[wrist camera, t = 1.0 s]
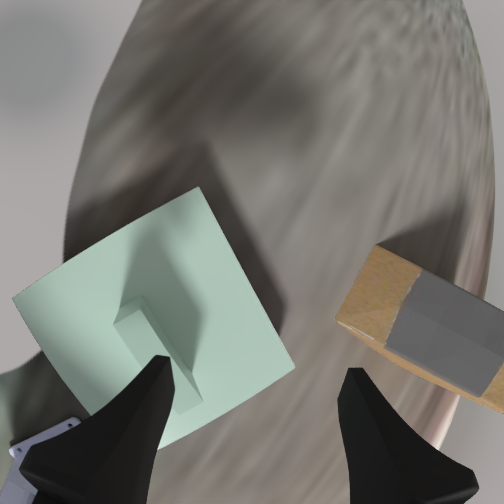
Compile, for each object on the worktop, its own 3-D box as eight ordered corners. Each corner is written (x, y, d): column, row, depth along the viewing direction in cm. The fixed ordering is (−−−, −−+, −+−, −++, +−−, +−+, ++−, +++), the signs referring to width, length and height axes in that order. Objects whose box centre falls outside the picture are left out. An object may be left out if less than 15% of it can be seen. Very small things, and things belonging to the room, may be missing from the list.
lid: (133, 450, 19) (135, 497, 14) (19, 294, 17) (-16, 311, 11) (287, 360, 23) (324, 389, 18) (195, 189, 20) (212, 173, 15)
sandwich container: (374, 239, 28) (518, 242, 14) (445, 312, 33) (550, 334, 18) (329, 320, 27) (471, 376, 13) (413, 375, 31) (516, 419, 17)
